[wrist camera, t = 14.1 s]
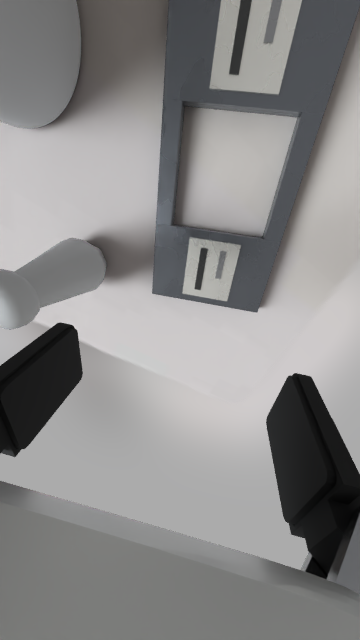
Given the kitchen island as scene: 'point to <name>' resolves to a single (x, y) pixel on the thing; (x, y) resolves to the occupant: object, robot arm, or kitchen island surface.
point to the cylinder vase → (37, 60)
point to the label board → (244, 96)
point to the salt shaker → (49, 280)
